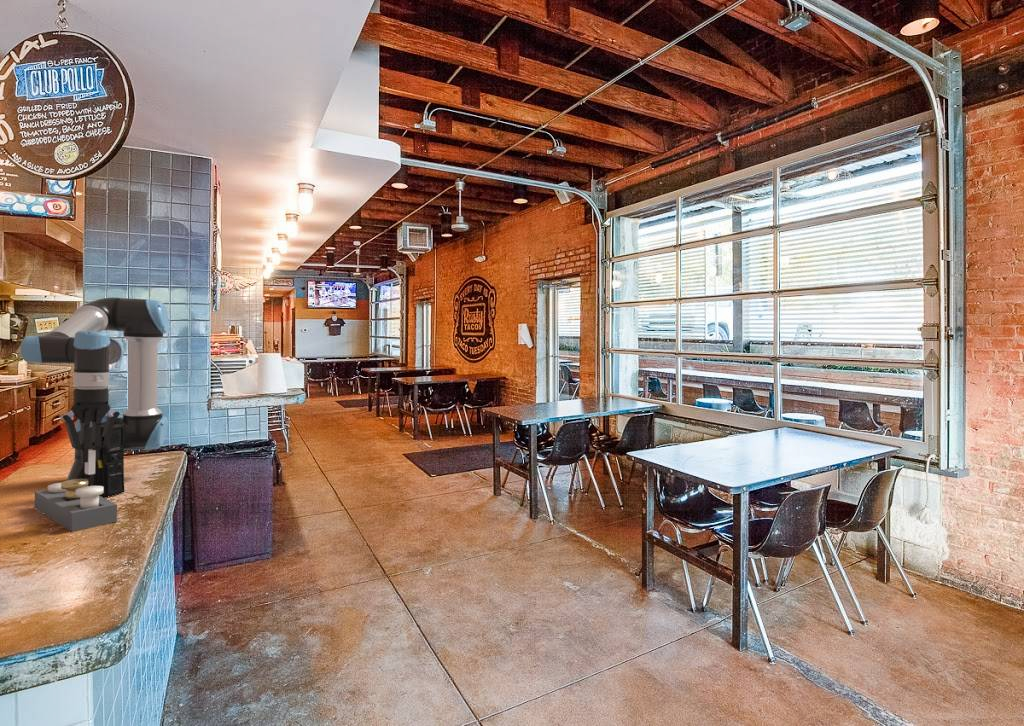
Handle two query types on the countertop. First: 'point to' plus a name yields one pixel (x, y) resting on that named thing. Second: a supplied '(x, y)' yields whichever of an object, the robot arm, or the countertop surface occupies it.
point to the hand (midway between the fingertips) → (89, 473)
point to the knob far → (89, 496)
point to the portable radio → (111, 463)
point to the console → (74, 511)
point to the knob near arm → (55, 488)
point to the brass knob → (73, 487)
